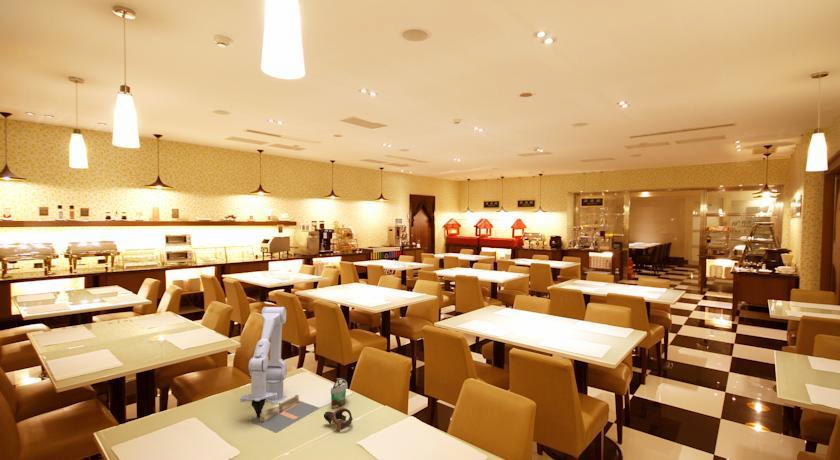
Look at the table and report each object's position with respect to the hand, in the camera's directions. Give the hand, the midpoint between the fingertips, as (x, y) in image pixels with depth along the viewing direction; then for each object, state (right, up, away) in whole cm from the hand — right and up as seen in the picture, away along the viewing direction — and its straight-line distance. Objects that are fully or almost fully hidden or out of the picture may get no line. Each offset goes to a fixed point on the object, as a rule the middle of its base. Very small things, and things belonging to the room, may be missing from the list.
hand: (259, 416), depth 171 cm
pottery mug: (+34, -2, -4) cm, 35 cm away
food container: (+32, -1, +15) cm, 35 cm away
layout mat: (+10, -1, +5) cm, 11 cm away
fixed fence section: (+9, -1, +10) cm, 14 cm away
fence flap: (+4, -1, +1) cm, 4 cm away
